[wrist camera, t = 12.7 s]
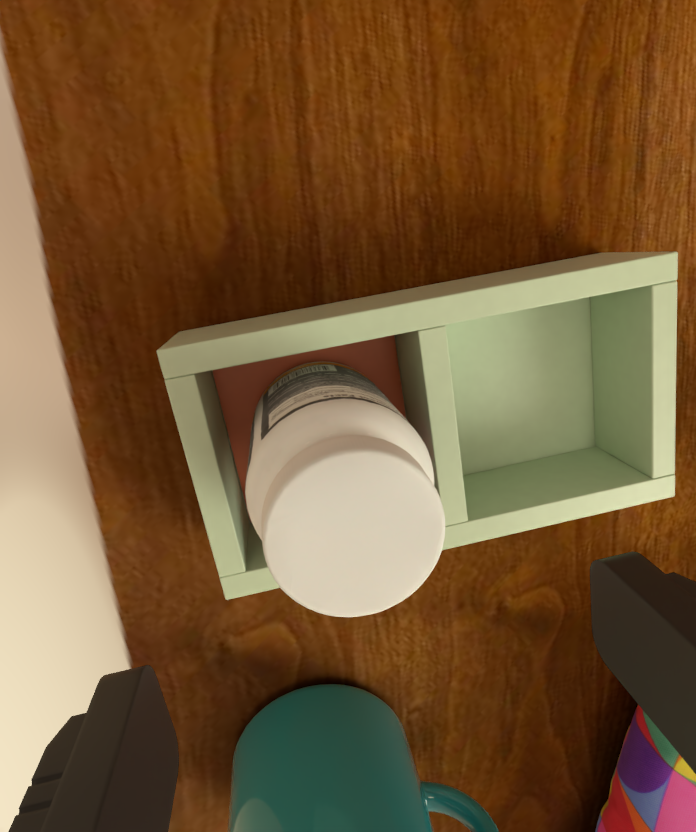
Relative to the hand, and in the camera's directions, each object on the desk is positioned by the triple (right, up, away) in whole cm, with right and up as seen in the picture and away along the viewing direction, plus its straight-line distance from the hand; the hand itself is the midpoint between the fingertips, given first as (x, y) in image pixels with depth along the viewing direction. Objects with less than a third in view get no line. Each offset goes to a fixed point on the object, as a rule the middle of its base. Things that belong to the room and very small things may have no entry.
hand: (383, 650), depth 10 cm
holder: (+2, +5, +14) cm, 15 cm away
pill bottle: (-2, +4, +13) cm, 14 cm away
